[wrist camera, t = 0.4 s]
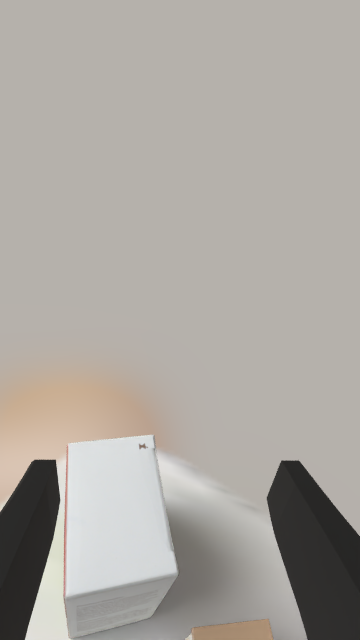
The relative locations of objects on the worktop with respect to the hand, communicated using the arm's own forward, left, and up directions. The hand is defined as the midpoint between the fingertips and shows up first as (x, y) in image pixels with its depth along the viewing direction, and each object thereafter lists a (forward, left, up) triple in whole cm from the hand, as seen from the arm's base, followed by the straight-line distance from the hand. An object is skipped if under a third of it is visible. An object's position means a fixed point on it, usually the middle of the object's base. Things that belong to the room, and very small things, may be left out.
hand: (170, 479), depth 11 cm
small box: (+3, +1, -20) cm, 20 cm away
